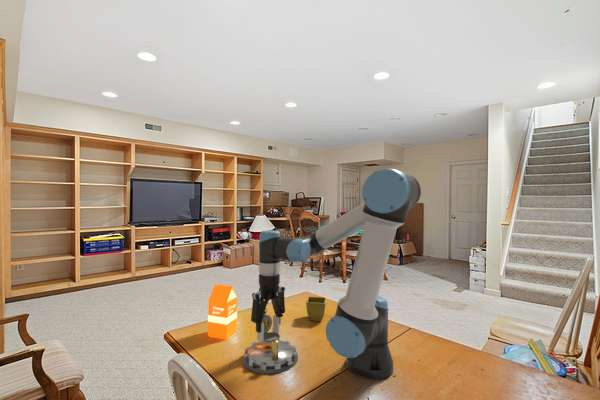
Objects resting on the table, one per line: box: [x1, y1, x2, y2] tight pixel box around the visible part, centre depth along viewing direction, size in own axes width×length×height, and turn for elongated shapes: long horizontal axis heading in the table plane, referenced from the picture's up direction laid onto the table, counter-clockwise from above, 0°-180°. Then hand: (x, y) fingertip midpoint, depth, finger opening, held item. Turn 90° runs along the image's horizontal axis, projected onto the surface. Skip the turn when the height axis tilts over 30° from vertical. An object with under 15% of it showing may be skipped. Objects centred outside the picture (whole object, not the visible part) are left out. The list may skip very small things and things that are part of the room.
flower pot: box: [305, 296, 327, 322], centre depth 134 cm, size 9×9×9 cm
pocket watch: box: [262, 308, 281, 342], centre depth 104 cm, size 8×8×10 cm
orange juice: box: [207, 283, 238, 341], centre depth 118 cm, size 8×9×20 cm
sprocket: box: [243, 339, 298, 370], centre depth 100 cm, size 18×18×8 cm
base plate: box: [242, 353, 299, 375], centre depth 99 cm, size 19×19×1 cm
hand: (268, 337), depth 104 cm, fingers closed on pocket watch, 7 cm apart
